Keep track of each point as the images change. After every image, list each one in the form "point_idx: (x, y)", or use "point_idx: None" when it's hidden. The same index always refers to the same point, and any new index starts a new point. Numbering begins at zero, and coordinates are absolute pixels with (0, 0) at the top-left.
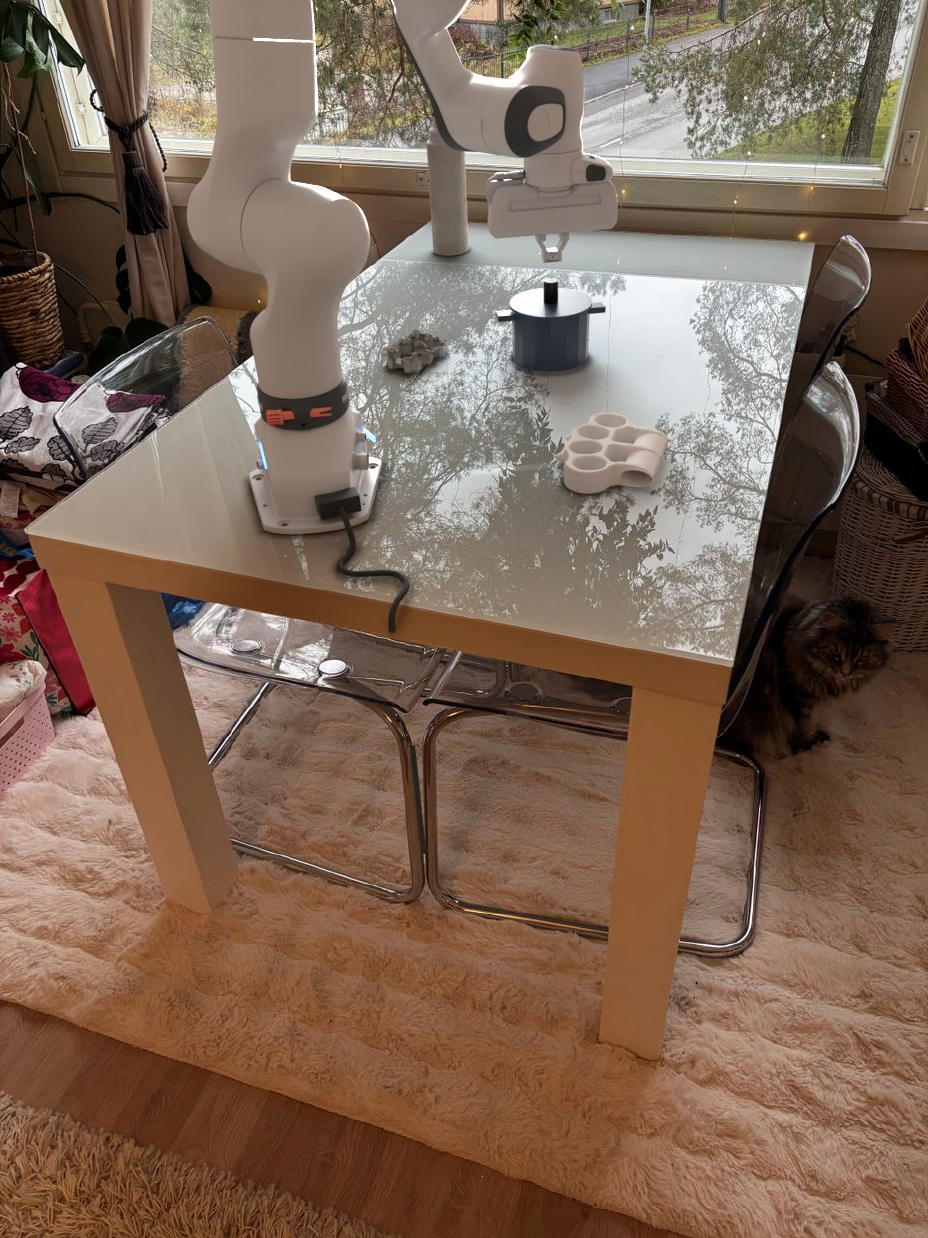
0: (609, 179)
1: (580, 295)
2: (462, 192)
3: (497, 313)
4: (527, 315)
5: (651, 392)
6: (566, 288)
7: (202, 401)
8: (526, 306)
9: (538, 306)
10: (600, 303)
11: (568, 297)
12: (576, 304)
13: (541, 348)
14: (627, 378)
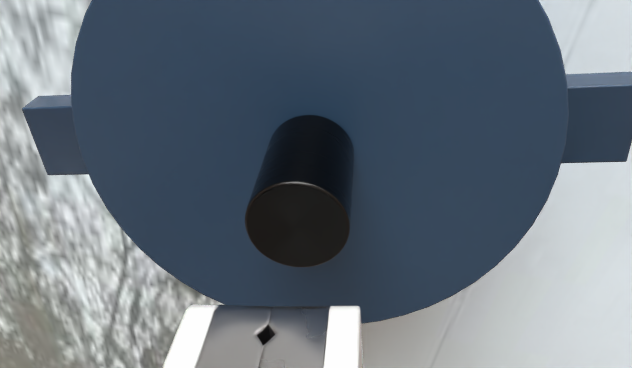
0: None
1: (516, 90)
2: None
3: (35, 139)
4: (183, 282)
5: (584, 313)
6: None
7: None
8: (173, 189)
9: (237, 204)
10: (620, 111)
11: (430, 110)
12: (447, 216)
13: None
14: (557, 229)
